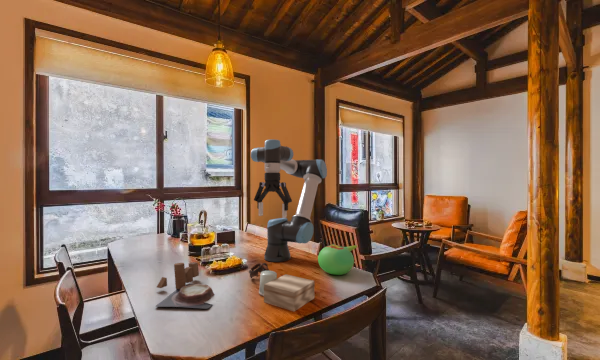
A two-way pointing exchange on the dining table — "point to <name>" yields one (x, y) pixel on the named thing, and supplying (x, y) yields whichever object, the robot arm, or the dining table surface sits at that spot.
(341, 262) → the round green toy
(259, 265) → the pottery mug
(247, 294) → the dining table surface
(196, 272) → the wooden block set
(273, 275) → the celadon tea cup
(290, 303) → the beech tea box
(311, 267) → the dining table surface
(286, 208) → the robot arm
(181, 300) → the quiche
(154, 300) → the dining table surface
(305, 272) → the dining table surface
